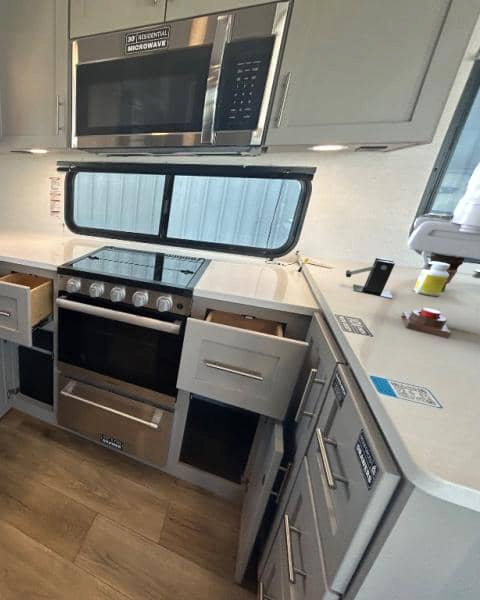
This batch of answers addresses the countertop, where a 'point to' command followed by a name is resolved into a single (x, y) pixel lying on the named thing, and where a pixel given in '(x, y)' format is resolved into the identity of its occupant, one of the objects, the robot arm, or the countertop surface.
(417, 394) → the countertop surface
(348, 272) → the switch lever
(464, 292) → the countertop surface
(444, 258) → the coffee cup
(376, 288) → the switch bracket
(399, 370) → the countertop surface
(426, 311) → the button
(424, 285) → the pill bottle
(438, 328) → the button block
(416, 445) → the countertop surface
